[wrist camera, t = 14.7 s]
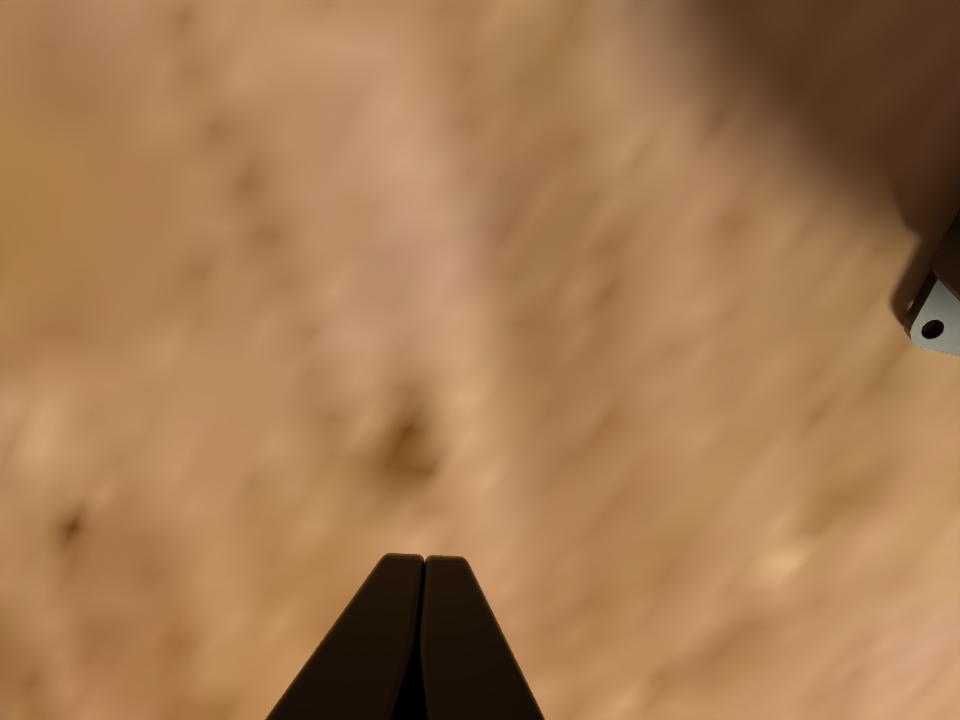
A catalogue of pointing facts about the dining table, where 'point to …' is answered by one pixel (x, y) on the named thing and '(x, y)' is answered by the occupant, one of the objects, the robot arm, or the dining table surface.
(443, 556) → the robot arm
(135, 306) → the dining table surface
